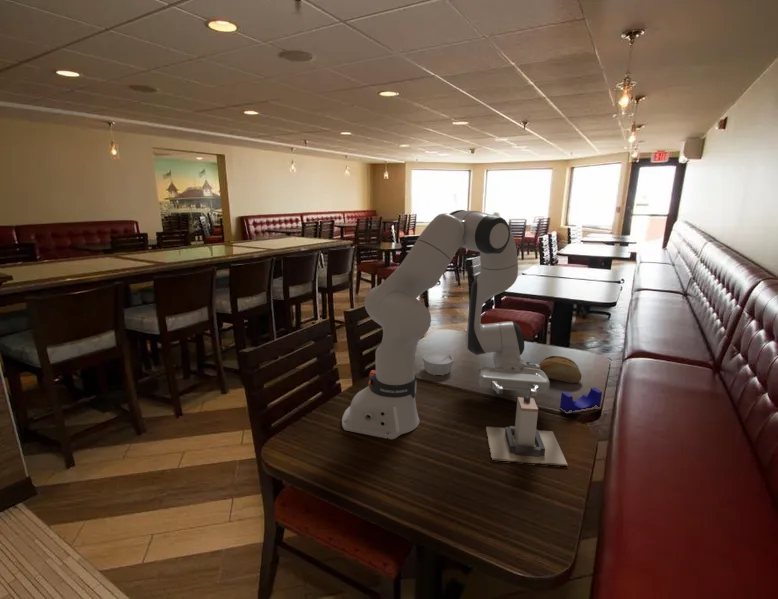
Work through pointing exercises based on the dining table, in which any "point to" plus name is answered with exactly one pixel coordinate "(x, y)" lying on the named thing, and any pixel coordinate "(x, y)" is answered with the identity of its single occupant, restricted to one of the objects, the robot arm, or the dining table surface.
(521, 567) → the dining table surface
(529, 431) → the white and orange block
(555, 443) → the board
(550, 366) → the bread roll
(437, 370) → the ramekin
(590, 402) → the cable clip
